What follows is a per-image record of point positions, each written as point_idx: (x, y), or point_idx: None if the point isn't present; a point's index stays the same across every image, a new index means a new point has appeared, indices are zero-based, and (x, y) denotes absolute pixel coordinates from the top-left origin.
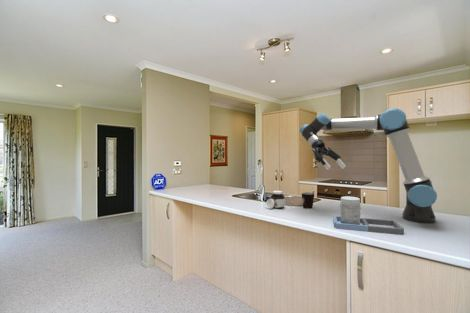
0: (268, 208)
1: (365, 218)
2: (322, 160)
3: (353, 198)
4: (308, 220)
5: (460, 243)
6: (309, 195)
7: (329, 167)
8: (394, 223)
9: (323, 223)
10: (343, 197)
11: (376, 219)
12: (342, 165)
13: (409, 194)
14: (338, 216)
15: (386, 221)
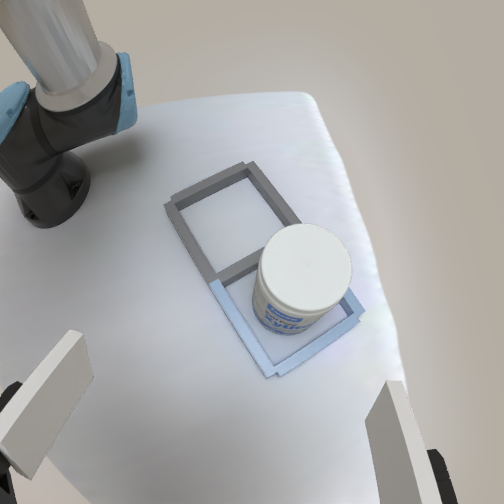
0: None
1: (209, 273)
2: (448, 498)
3: (306, 248)
4: (355, 434)
5: (220, 99)
6: None
7: (398, 387)
8: (195, 193)
9: (345, 376)
10: (322, 294)
11: (193, 242)
12: (71, 372)
13: (134, 106)
14: (266, 360)
15: (182, 218)
